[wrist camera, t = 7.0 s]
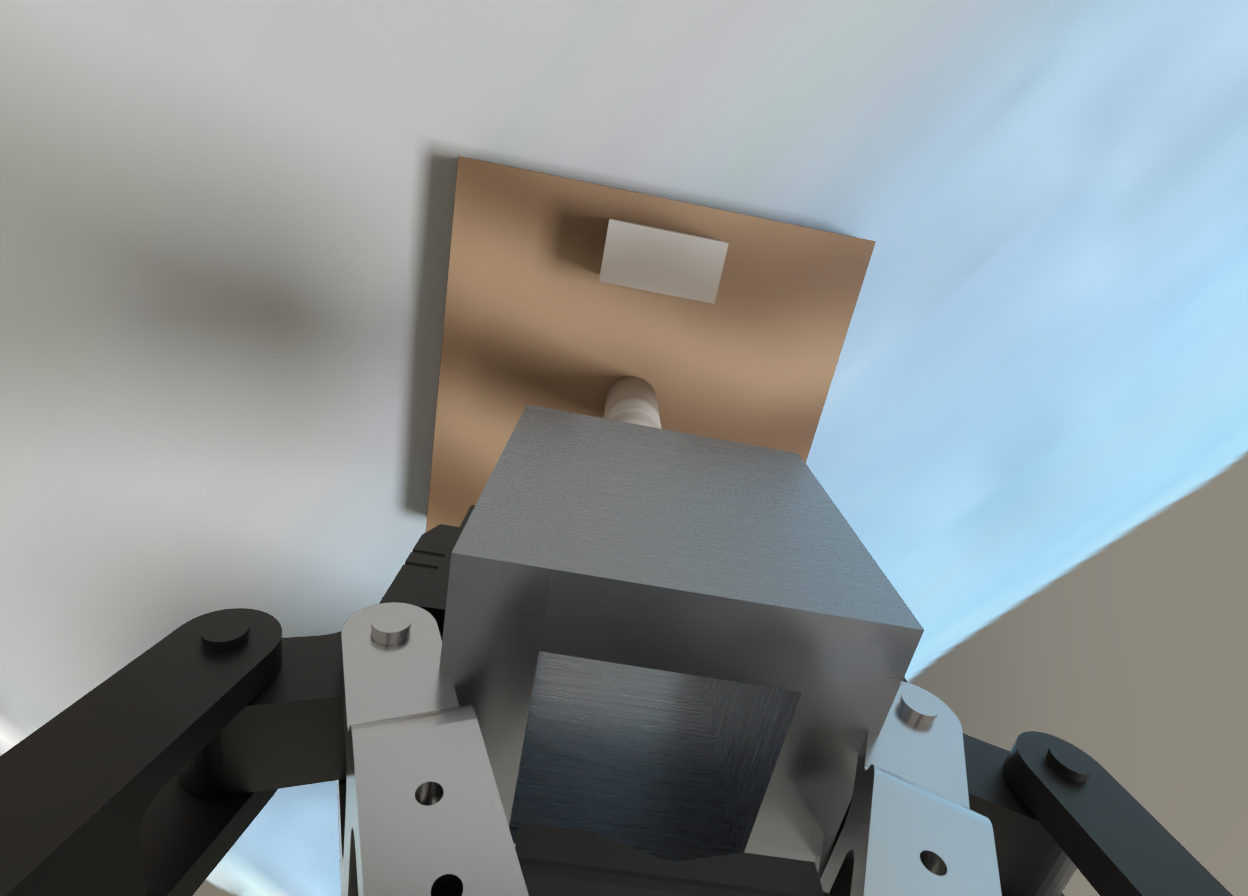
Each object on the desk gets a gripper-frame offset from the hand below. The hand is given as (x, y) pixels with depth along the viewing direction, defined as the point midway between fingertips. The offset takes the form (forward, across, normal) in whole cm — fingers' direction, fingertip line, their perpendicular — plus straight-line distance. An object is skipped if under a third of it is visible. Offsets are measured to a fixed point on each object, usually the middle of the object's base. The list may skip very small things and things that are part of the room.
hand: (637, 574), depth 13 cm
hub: (+1, 0, 0) cm, 1 cm away
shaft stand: (+14, 0, 0) cm, 14 cm away
